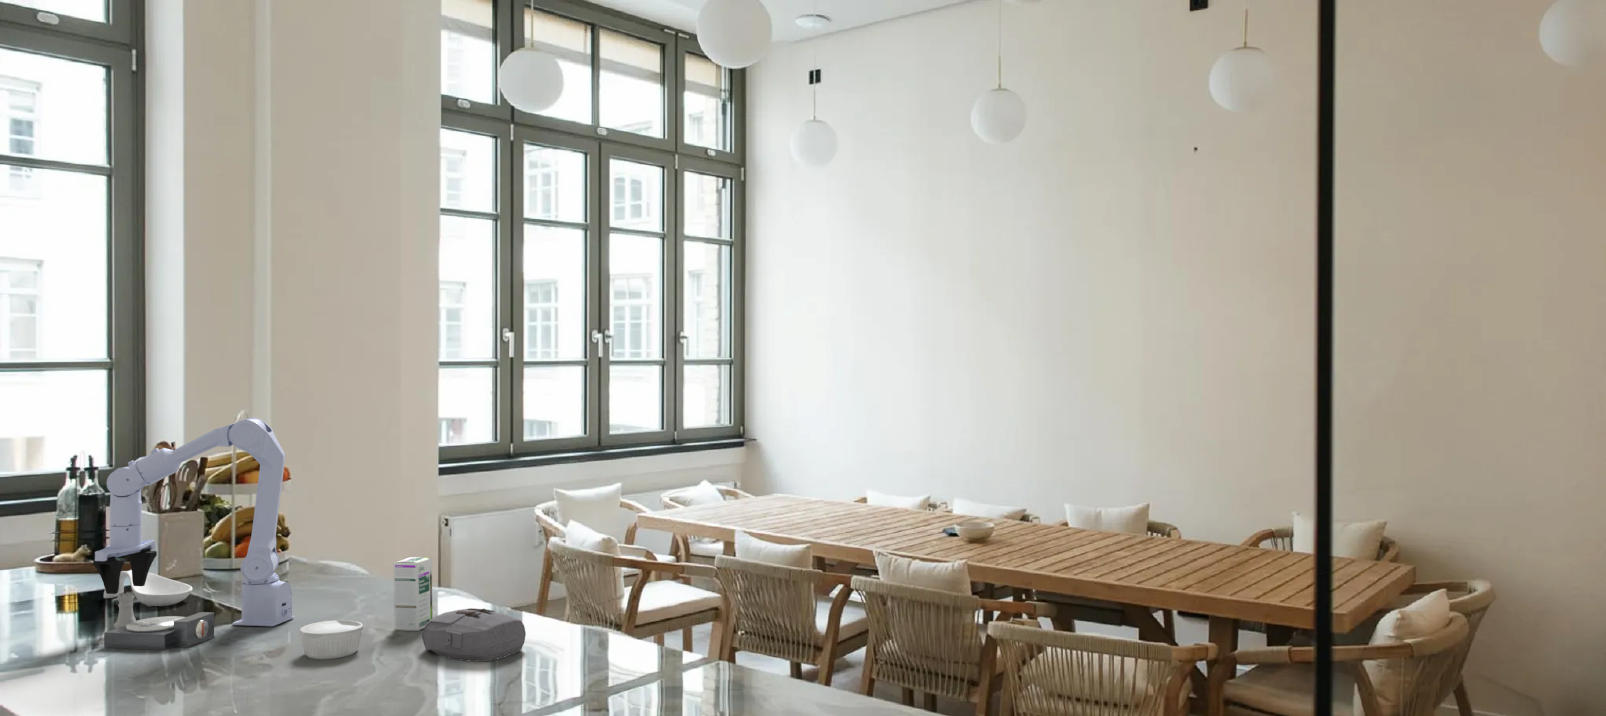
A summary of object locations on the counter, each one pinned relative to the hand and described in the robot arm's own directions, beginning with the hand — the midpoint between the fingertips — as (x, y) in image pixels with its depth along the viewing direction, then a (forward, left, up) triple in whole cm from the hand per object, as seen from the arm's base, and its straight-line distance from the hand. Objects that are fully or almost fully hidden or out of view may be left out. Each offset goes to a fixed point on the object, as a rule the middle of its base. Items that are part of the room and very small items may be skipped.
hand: (125, 589), depth 229 cm
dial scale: (-14, +6, -9) cm, 17 cm away
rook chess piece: (0, 0, -9) cm, 9 cm away
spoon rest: (+16, -26, -9) cm, 32 cm away
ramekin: (-52, +10, -9) cm, 54 cm away
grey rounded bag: (-78, +5, -9) cm, 79 cm away
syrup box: (-58, -11, -9) cm, 60 cm away
